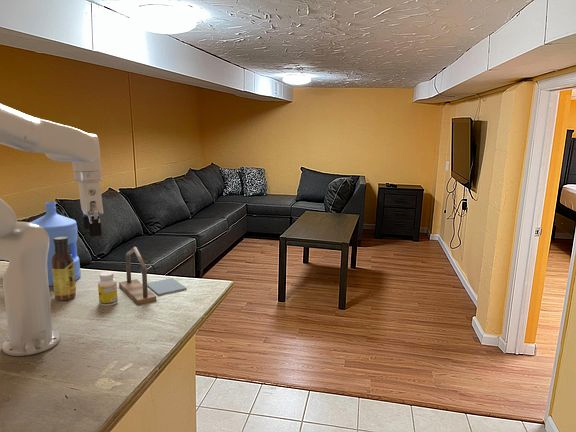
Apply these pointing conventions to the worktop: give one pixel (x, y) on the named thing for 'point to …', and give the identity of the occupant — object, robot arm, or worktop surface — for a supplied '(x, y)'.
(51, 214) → the water jug
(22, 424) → the worktop surface
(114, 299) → the supplement bottle
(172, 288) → the mat
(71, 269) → the sauce bottle
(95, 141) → the robot arm
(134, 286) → the wire arch
